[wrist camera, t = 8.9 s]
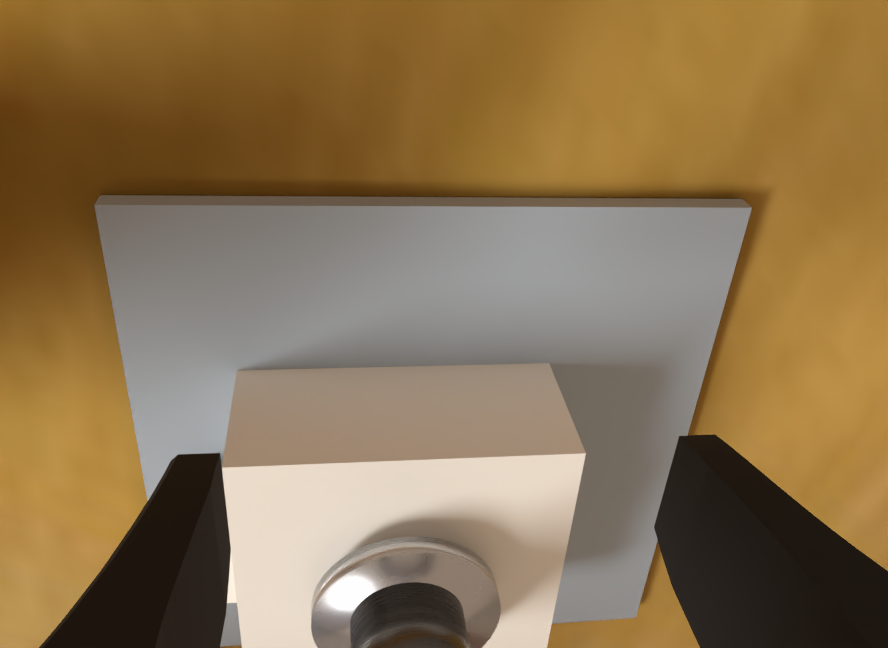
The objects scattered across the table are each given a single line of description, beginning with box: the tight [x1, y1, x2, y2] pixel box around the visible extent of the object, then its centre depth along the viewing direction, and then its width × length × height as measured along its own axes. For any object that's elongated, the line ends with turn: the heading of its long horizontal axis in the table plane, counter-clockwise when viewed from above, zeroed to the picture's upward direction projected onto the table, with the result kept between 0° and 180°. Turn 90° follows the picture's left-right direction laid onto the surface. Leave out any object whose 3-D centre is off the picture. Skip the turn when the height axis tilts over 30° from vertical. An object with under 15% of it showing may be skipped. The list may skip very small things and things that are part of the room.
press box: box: [222, 363, 586, 648], centre depth 24 cm, size 9×11×4 cm
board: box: [94, 195, 752, 647], centre depth 26 cm, size 17×17×1 cm
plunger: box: [311, 537, 501, 648], centre depth 22 cm, size 5×5×8 cm
